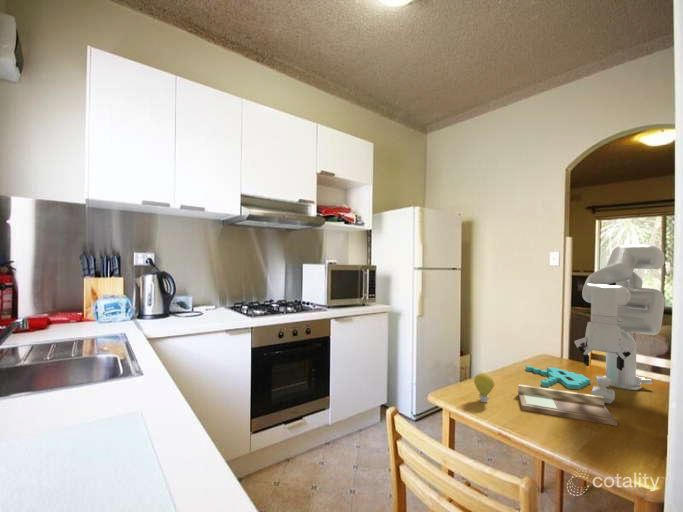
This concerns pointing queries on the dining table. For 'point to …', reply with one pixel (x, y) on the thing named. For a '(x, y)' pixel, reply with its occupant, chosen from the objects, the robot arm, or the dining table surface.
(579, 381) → the teal pixel sprite
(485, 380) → the light bulb
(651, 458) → the dining table surface
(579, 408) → the brown piece
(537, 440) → the dining table surface
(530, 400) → the end mark
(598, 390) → the stamp
